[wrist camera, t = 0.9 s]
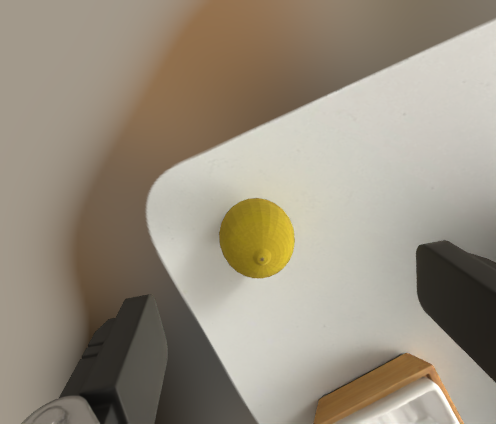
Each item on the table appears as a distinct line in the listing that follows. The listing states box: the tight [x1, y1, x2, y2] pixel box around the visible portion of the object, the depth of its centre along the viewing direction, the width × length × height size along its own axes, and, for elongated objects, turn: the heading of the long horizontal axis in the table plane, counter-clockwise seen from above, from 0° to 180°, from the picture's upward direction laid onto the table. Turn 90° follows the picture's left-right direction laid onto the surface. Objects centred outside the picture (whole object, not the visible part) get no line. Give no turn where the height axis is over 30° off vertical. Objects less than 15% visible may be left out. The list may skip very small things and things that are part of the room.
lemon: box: [219, 198, 295, 278], centre depth 26 cm, size 6×6×8 cm
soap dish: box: [314, 353, 464, 424], centre depth 34 cm, size 12×10×5 cm
